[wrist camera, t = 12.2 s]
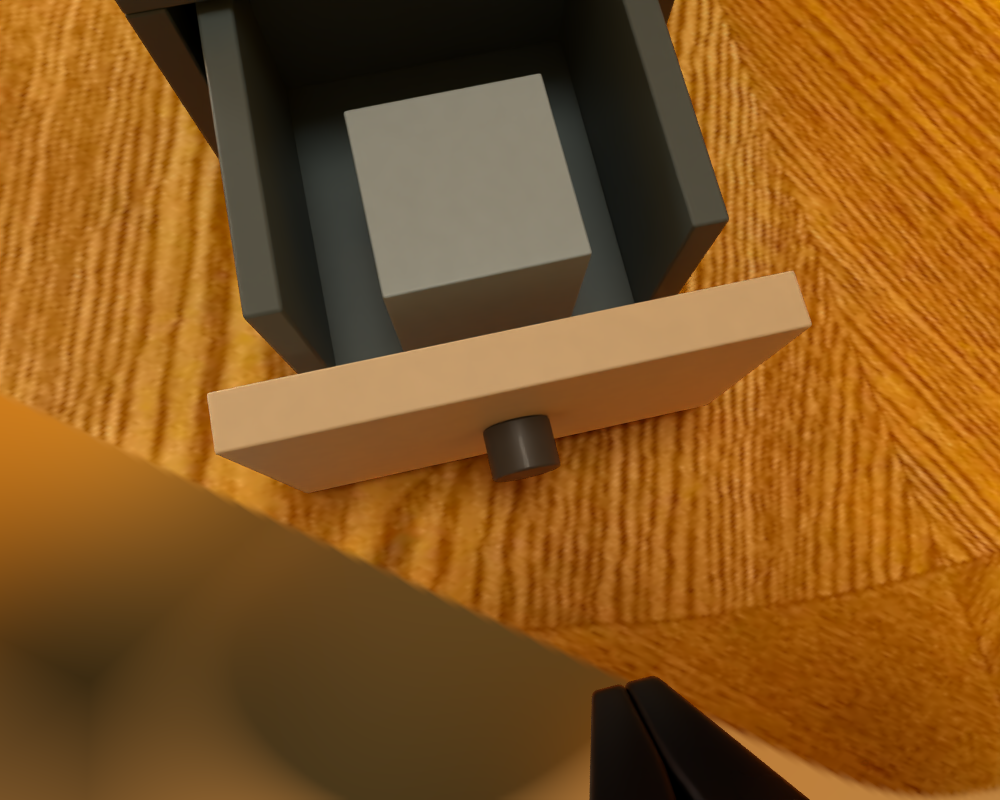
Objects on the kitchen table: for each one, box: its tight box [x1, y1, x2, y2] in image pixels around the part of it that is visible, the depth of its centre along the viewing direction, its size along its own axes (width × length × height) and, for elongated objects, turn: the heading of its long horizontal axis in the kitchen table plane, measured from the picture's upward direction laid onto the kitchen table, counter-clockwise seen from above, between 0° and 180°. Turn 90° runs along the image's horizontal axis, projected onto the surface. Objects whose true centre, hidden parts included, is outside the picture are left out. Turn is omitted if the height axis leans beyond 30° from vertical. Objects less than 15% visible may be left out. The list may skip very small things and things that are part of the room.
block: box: [344, 74, 592, 352], centre depth 18 cm, size 5×5×5 cm
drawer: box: [195, 0, 812, 493], centre depth 18 cm, size 14×12×7 cm
